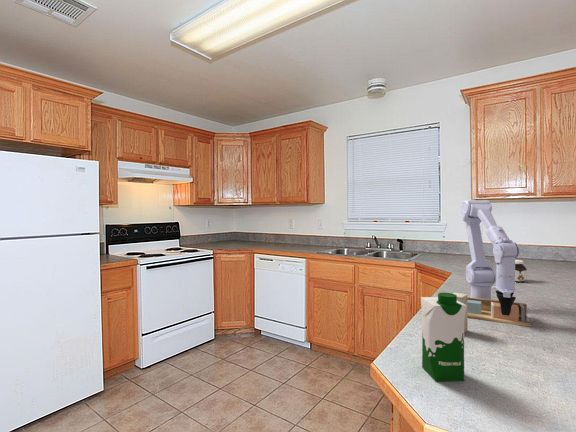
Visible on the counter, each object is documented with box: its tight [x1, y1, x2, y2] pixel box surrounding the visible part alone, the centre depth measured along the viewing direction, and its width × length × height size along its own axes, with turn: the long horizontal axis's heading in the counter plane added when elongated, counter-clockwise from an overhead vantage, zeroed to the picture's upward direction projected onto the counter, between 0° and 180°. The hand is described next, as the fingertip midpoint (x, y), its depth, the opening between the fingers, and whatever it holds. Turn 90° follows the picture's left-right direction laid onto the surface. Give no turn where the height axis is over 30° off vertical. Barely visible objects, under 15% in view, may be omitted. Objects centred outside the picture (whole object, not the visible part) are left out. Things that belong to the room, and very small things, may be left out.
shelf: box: [467, 296, 531, 327], centre depth 123 cm, size 12×20×5 cm, turn 60°
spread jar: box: [515, 259, 528, 284], centre depth 183 cm, size 12×11×12 cm
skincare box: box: [452, 291, 469, 334], centre depth 109 cm, size 6×4×12 cm
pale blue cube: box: [467, 300, 481, 315], centre depth 126 cm, size 4×5×4 cm
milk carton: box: [420, 292, 467, 382], centre depth 81 cm, size 9×9×20 cm
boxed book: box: [491, 302, 519, 321], centre depth 120 cm, size 5×8×4 cm, turn 60°
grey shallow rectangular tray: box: [518, 302, 531, 324], centre depth 117 cm, size 7×2×5 cm, turn 151°
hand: (505, 312), depth 120 cm, fingers closed on boxed book, 5 cm apart
